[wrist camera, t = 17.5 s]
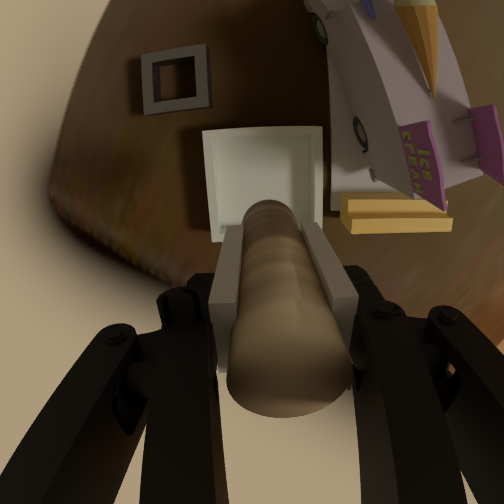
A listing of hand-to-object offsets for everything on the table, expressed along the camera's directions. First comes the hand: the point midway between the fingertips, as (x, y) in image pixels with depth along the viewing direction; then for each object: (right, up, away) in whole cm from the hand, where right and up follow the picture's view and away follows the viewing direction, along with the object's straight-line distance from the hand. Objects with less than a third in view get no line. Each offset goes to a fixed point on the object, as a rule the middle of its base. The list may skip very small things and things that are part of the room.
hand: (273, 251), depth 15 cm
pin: (0, +2, +3) cm, 4 cm away
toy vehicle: (+11, +18, +12) cm, 24 cm away
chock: (+14, +5, +17) cm, 23 cm away
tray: (0, +7, +17) cm, 18 cm away
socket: (-8, +17, +12) cm, 23 cm away
